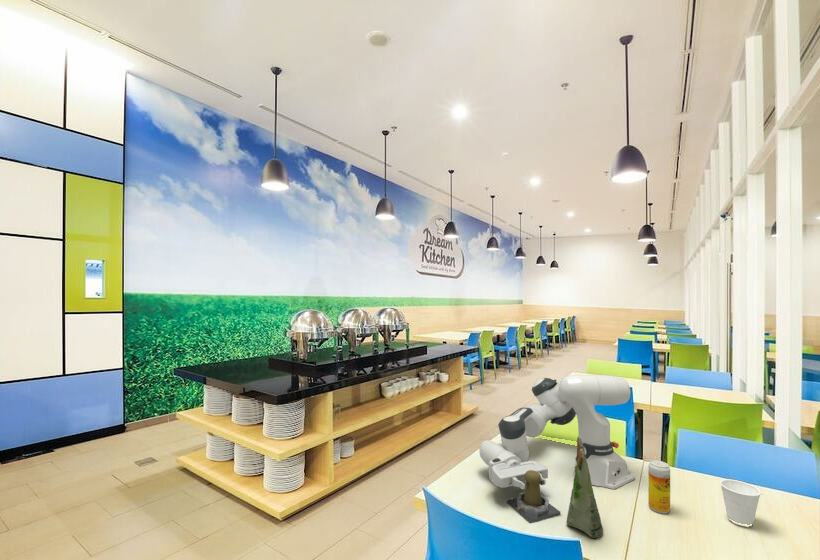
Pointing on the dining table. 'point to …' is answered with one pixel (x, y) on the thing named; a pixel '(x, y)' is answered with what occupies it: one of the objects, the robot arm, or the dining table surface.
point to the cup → (740, 500)
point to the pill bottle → (659, 486)
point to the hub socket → (533, 509)
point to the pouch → (583, 499)
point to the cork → (533, 489)
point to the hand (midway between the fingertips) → (534, 484)
